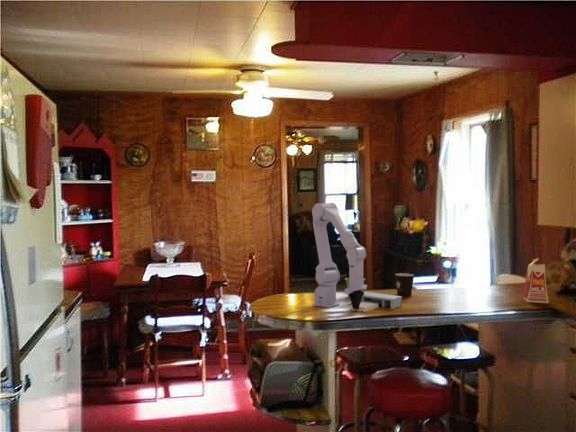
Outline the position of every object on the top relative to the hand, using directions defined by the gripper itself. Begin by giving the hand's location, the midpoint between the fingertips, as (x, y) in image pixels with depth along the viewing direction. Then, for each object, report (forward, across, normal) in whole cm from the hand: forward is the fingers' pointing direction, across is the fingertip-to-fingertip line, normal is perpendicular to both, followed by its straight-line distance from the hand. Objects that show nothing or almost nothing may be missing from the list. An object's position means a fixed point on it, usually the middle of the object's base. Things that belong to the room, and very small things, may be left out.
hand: (355, 308), depth 235 cm
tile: (+1, +7, 0) cm, 7 cm away
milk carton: (+1, +72, -52) cm, 89 cm away
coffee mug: (+1, +46, +1) cm, 46 cm away
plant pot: (+1, +26, +16) cm, 31 cm away
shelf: (+1, +18, 0) cm, 18 cm away
